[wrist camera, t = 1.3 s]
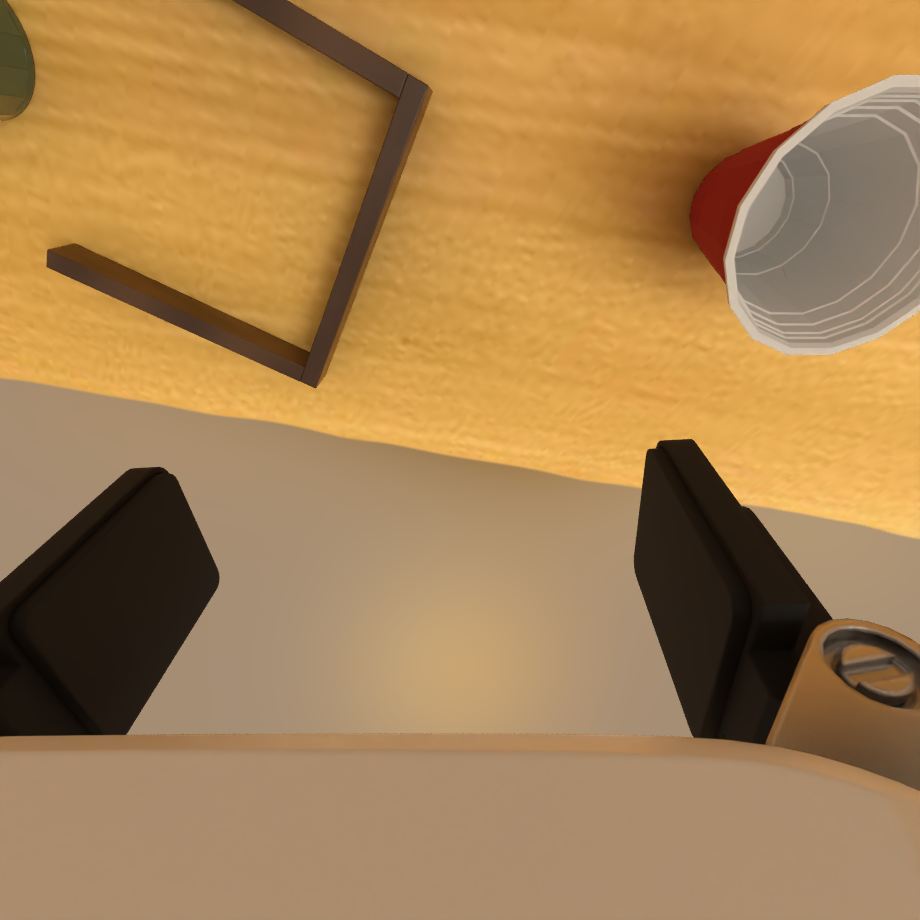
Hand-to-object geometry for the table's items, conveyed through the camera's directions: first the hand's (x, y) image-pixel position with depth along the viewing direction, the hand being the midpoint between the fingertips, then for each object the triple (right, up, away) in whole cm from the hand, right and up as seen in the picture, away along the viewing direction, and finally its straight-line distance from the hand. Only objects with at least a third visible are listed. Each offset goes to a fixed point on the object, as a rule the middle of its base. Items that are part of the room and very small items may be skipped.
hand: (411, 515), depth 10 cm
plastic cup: (+18, +17, +21) cm, 32 cm away
